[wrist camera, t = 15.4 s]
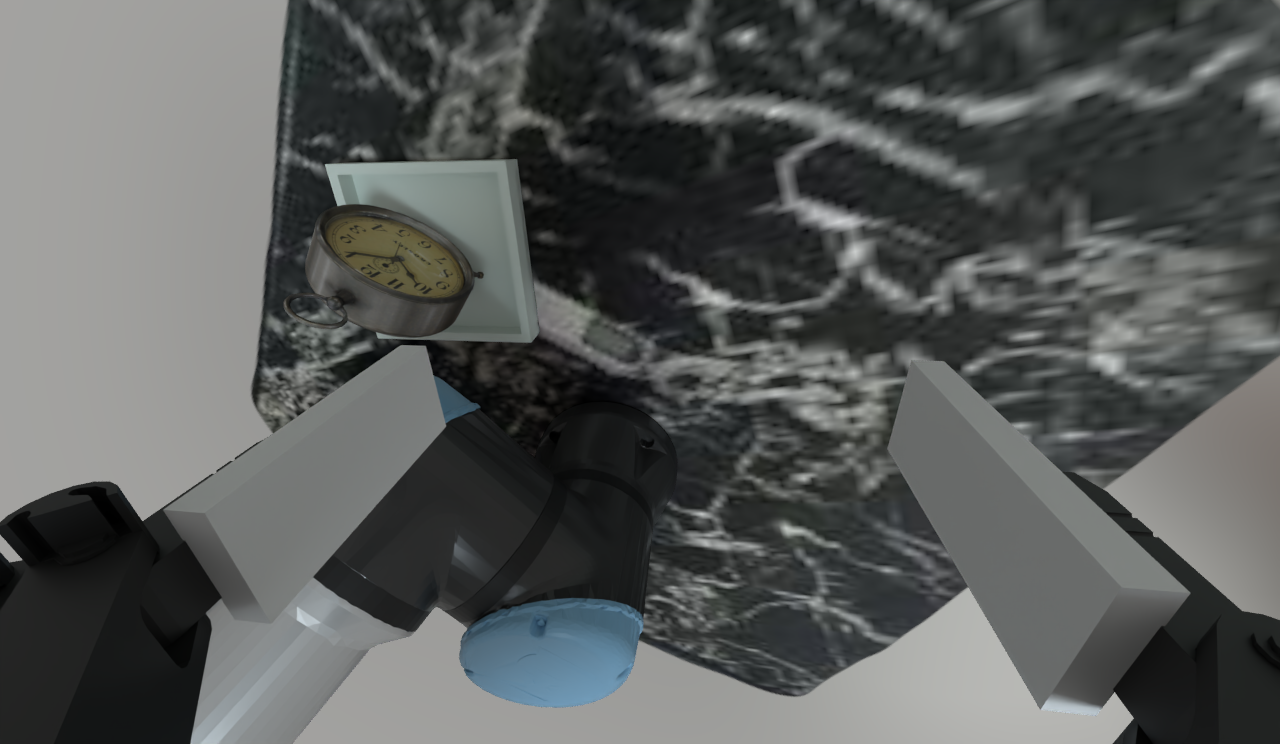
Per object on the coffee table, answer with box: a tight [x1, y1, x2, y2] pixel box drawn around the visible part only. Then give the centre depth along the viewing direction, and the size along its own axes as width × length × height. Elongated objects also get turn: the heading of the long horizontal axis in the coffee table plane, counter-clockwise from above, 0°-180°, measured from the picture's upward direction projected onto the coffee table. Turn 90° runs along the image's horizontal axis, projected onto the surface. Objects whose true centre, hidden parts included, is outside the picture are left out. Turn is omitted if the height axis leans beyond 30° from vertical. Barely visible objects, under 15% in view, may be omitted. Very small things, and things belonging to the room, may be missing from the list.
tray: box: [325, 159, 540, 343], centre depth 41 cm, size 15×15×2 cm
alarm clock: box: [284, 204, 484, 338], centre depth 34 cm, size 11×5×16 cm, turn 54°
